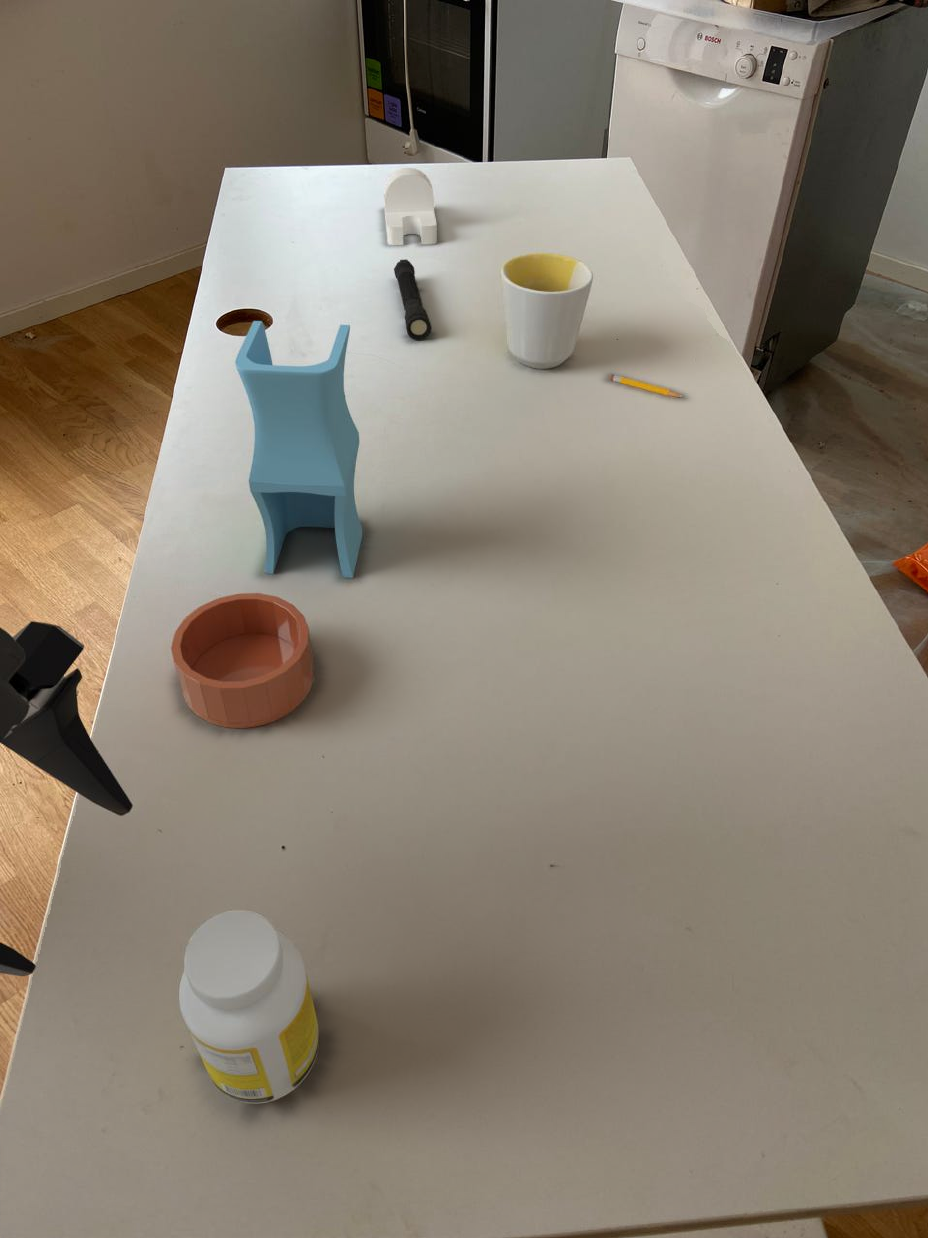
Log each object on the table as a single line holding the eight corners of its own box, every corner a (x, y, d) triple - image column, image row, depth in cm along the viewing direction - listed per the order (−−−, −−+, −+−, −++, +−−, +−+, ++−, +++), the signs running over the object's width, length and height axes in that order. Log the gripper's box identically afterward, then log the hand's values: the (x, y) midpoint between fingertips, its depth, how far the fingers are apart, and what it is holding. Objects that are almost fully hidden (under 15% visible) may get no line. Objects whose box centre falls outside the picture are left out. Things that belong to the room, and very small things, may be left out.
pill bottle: (317, 987, 58) (296, 883, 50) (324, 1097, 54) (303, 1004, 46) (207, 1004, 58) (168, 902, 50) (204, 1118, 53) (161, 1026, 45)
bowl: (194, 743, 72) (182, 703, 69) (173, 650, 79) (162, 610, 76) (328, 708, 74) (323, 667, 71) (297, 621, 81) (291, 581, 78)
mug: (590, 378, 111) (600, 290, 104) (501, 380, 110) (505, 292, 103) (573, 322, 121) (581, 238, 113) (491, 323, 120) (494, 239, 113)
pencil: (612, 378, 111) (613, 373, 111) (683, 398, 108) (684, 392, 108) (609, 382, 111) (610, 376, 110) (681, 401, 108) (682, 395, 108)
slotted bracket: (384, 209, 146) (382, 155, 141) (430, 208, 147) (429, 154, 141) (388, 245, 137) (385, 188, 131) (437, 244, 137) (436, 187, 132)
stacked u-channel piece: (365, 523, 91) (351, 323, 77) (353, 578, 85) (335, 373, 72) (282, 518, 91) (253, 319, 78) (264, 573, 86) (229, 369, 72)
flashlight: (407, 341, 117) (406, 317, 115) (393, 281, 128) (392, 259, 126) (431, 339, 117) (431, 316, 115) (415, 280, 129) (415, 257, 127)
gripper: (-349, 822, 31) (55, 1054, 37) (-6, 486, 44) (251, 697, 50) (-409, 892, 38) (-59, 1080, 43) (-95, 583, 51) (140, 759, 57)
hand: (82, 886), depth 48 cm, fingers open, 9 cm apart
